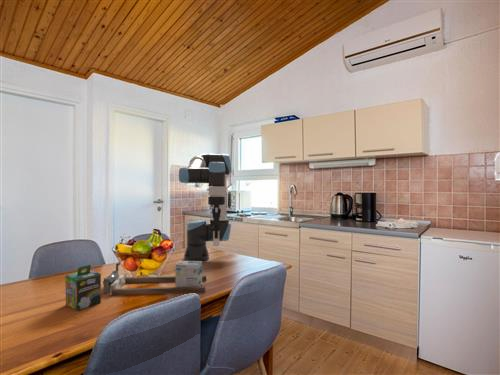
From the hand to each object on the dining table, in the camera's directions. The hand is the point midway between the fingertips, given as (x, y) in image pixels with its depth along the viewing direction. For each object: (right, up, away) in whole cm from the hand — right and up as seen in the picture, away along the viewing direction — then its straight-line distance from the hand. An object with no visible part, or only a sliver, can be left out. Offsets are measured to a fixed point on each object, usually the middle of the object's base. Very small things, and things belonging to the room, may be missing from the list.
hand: (216, 242), depth 131 cm
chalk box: (-48, -19, -22) cm, 56 cm away
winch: (-46, -19, -3) cm, 49 cm away
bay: (-24, -19, -3) cm, 30 cm away
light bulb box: (-12, -19, -1) cm, 23 cm away
